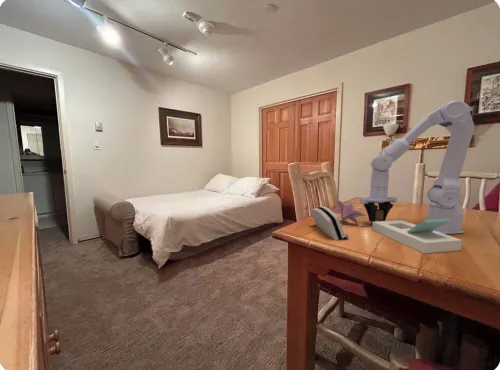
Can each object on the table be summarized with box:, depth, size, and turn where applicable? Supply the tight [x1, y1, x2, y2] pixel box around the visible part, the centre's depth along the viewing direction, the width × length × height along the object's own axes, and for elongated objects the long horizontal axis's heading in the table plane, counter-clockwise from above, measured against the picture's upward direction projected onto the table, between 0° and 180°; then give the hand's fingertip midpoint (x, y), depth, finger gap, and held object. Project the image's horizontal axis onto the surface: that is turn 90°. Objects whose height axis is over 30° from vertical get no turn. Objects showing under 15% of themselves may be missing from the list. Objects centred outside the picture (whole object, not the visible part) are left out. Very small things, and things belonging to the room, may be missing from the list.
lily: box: [331, 198, 366, 227], centre depth 85 cm, size 12×12×10 cm
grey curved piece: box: [311, 205, 350, 241], centre depth 76 cm, size 17×5×10 cm, turn 5°
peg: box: [370, 208, 384, 226], centre depth 84 cm, size 4×4×6 cm
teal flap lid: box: [407, 219, 450, 233], centre depth 64 cm, size 8×1×7 cm
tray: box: [371, 219, 463, 254], centre depth 69 cm, size 12×20×3 cm, turn 9°
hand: (376, 221), depth 84 cm, fingers closed on peg, 4 cm apart
